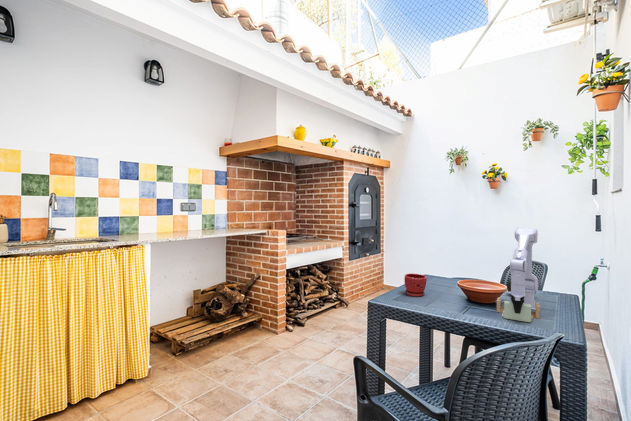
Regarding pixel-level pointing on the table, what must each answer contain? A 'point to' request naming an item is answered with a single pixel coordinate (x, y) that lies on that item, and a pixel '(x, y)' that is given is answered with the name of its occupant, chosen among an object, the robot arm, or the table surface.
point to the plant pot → (415, 284)
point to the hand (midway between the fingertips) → (517, 311)
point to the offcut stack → (531, 316)
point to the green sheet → (523, 316)
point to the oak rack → (533, 313)
